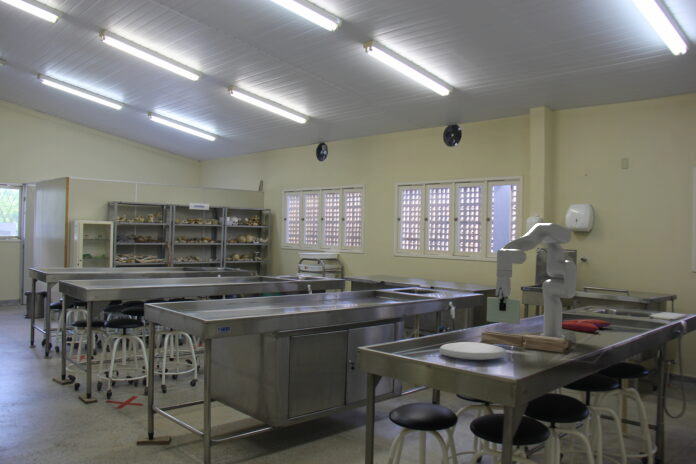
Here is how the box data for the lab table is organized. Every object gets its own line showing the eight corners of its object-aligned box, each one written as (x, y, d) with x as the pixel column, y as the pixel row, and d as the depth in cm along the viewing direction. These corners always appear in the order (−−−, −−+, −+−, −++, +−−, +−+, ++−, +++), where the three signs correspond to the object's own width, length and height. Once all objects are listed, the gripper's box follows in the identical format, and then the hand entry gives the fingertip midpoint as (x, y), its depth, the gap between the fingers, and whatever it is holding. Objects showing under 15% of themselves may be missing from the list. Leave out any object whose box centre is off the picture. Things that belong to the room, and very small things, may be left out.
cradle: (486, 340, 275) (486, 330, 275) (525, 345, 264) (526, 335, 264) (480, 343, 267) (480, 333, 267) (520, 348, 256) (520, 337, 256)
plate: (428, 345, 233) (458, 339, 253) (429, 360, 233) (459, 352, 253) (486, 348, 215) (514, 341, 235) (487, 364, 214) (515, 355, 234)
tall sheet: (487, 320, 270) (488, 297, 271) (519, 323, 262) (520, 299, 262) (486, 320, 269) (487, 297, 269) (518, 324, 260) (519, 299, 260)
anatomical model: (611, 332, 328) (562, 328, 347) (611, 320, 328) (561, 317, 347) (598, 333, 304) (545, 329, 323) (598, 320, 305) (545, 317, 324)
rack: (529, 345, 265) (529, 332, 265) (571, 350, 254) (571, 336, 254) (521, 349, 253) (521, 335, 254) (565, 355, 242) (566, 340, 243)
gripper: (501, 273, 275) (500, 308, 274) (491, 273, 261) (490, 311, 261) (516, 274, 271) (515, 310, 270) (507, 274, 257) (506, 312, 257)
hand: (503, 310), depth 265 cm, fingers closed on tall sheet, 2 cm apart
